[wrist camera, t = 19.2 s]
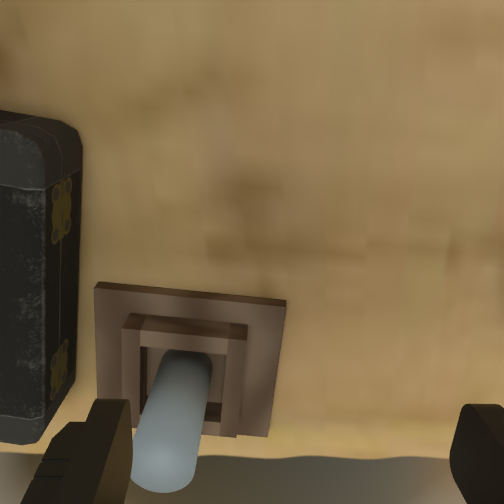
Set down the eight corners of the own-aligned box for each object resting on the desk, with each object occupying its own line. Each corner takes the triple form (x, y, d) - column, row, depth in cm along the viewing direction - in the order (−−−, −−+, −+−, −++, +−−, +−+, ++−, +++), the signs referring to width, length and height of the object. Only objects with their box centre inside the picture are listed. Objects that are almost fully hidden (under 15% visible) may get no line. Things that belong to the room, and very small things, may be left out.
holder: (102, 412, 44) (88, 441, 41) (98, 281, 39) (82, 302, 36) (267, 428, 45) (267, 458, 41) (285, 300, 39) (287, 322, 36)
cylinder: (152, 376, 41) (115, 478, 31) (172, 337, 40) (139, 430, 30) (200, 395, 42) (179, 501, 32) (220, 357, 40) (205, 455, 30)
